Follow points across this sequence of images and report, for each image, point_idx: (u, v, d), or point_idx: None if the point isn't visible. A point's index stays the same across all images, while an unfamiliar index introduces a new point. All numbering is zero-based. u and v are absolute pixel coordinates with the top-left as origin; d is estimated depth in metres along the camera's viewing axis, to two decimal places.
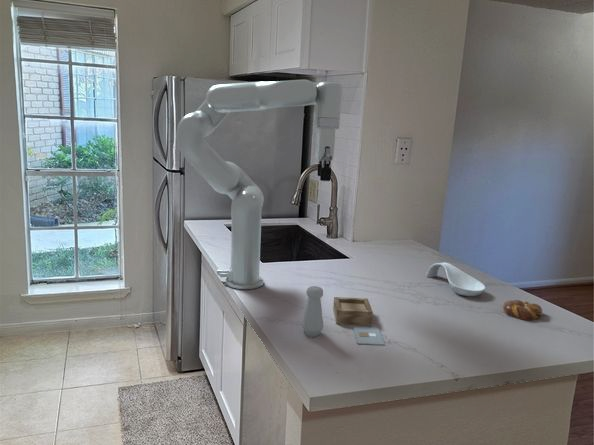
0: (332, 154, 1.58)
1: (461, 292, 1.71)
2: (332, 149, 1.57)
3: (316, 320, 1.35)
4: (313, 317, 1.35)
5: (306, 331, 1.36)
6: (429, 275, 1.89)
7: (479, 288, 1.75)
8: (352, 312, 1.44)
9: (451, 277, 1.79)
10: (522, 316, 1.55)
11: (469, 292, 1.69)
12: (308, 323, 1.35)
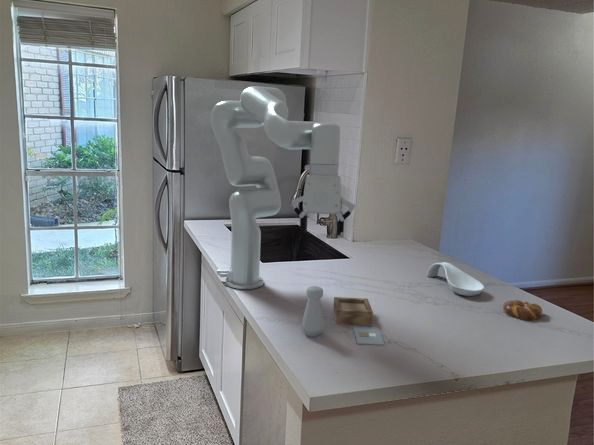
0: None
1: (460, 292, 1.71)
2: None
3: (316, 320, 1.35)
4: (313, 317, 1.35)
5: (306, 331, 1.36)
6: (429, 275, 1.89)
7: (478, 288, 1.75)
8: (352, 312, 1.44)
9: (450, 277, 1.79)
10: (522, 316, 1.55)
11: (467, 292, 1.69)
12: (308, 323, 1.35)
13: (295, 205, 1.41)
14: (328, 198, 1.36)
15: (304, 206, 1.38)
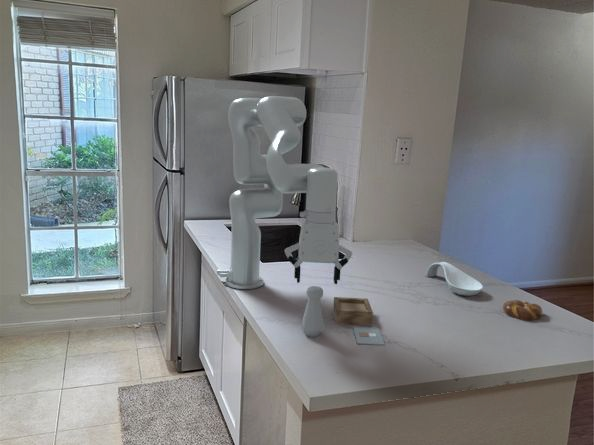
0: None
1: (459, 292, 1.71)
2: None
3: (316, 320, 1.35)
4: (313, 317, 1.35)
5: (306, 331, 1.36)
6: (428, 274, 1.89)
7: (477, 288, 1.75)
8: (352, 312, 1.44)
9: (449, 276, 1.79)
10: (521, 316, 1.55)
11: (466, 291, 1.70)
12: (308, 323, 1.35)
13: (289, 254, 1.32)
14: (327, 247, 1.29)
15: (301, 255, 1.30)
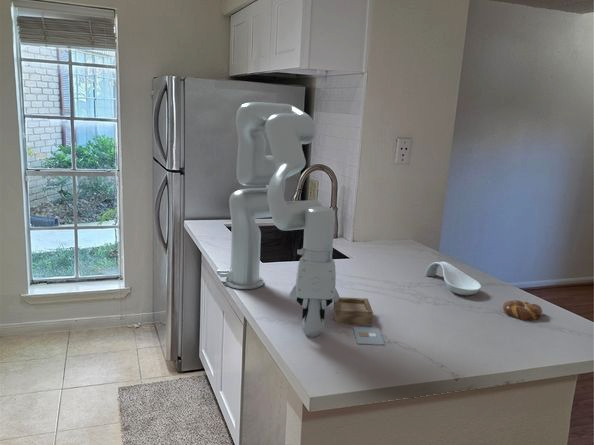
0: None
1: (456, 291, 1.72)
2: None
3: (316, 320, 1.35)
4: (313, 317, 1.35)
5: (306, 331, 1.36)
6: (428, 274, 1.90)
7: (475, 287, 1.75)
8: (352, 312, 1.44)
9: (448, 276, 1.80)
10: (521, 316, 1.55)
11: (464, 291, 1.70)
12: (308, 323, 1.35)
13: (295, 296, 1.35)
14: (323, 284, 1.32)
15: (298, 292, 1.33)
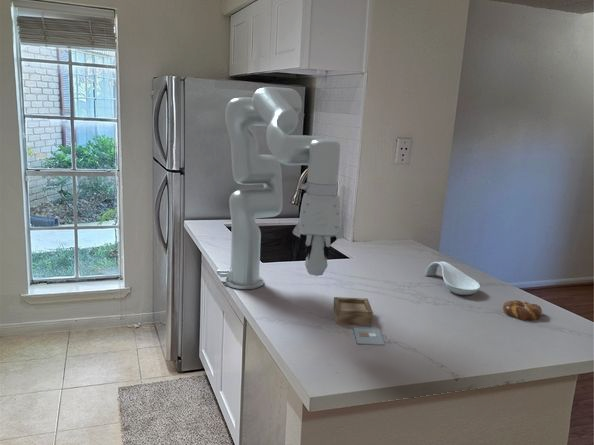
0: None
1: (455, 291, 1.72)
2: None
3: (320, 258, 1.31)
4: (316, 255, 1.31)
5: (309, 269, 1.32)
6: (428, 274, 1.90)
7: (474, 287, 1.75)
8: (352, 312, 1.44)
9: (447, 276, 1.80)
10: (521, 316, 1.55)
11: (462, 291, 1.70)
12: (312, 261, 1.31)
13: (298, 233, 1.31)
14: (328, 219, 1.28)
15: (301, 228, 1.29)
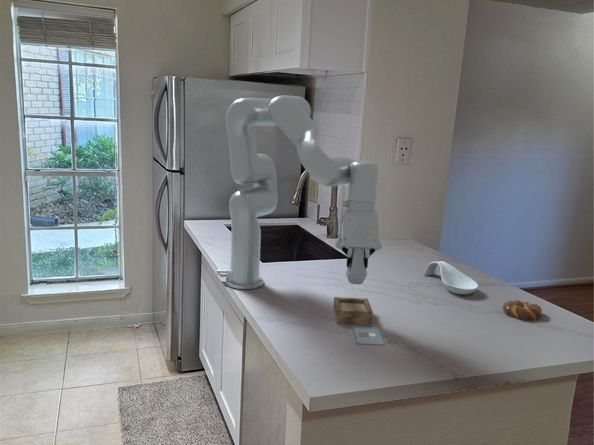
0: None
1: (453, 290, 1.72)
2: None
3: (361, 268, 1.44)
4: (357, 265, 1.44)
5: (351, 279, 1.45)
6: (426, 273, 1.91)
7: (472, 287, 1.75)
8: (352, 312, 1.44)
9: (445, 275, 1.80)
10: (521, 316, 1.55)
11: (460, 290, 1.70)
12: (353, 271, 1.44)
13: (340, 246, 1.44)
14: (368, 233, 1.41)
15: (344, 241, 1.42)
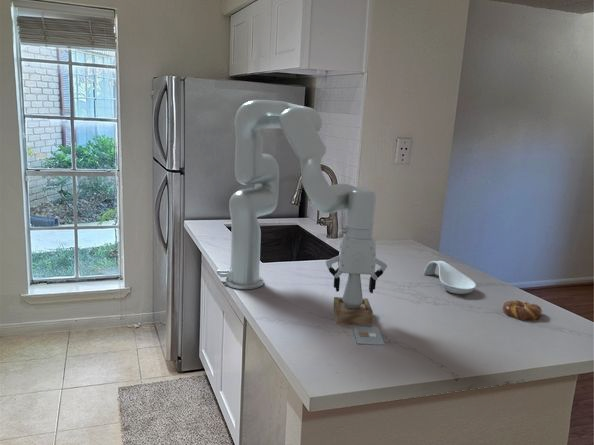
0: None
1: (450, 290, 1.73)
2: None
3: (357, 294, 1.46)
4: (353, 292, 1.46)
5: (347, 305, 1.47)
6: (426, 273, 1.91)
7: (470, 287, 1.76)
8: (352, 312, 1.44)
9: (444, 275, 1.81)
10: (521, 316, 1.55)
11: (457, 290, 1.71)
12: (349, 297, 1.46)
13: (330, 266, 1.46)
14: (365, 260, 1.43)
15: (341, 267, 1.44)
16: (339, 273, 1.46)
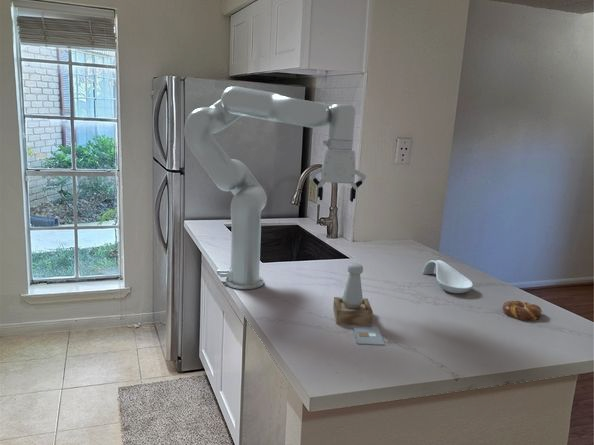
0: None
1: (447, 289, 1.73)
2: None
3: (357, 294, 1.46)
4: (353, 292, 1.46)
5: (347, 305, 1.47)
6: (425, 272, 1.92)
7: (467, 286, 1.76)
8: (352, 312, 1.44)
9: (441, 274, 1.81)
10: (520, 316, 1.54)
11: (453, 289, 1.71)
12: (349, 297, 1.46)
13: (314, 176, 1.60)
14: (345, 169, 1.58)
15: (324, 177, 1.58)
16: (322, 183, 1.60)
